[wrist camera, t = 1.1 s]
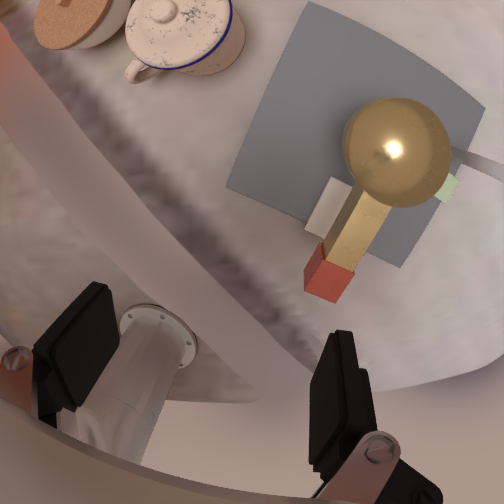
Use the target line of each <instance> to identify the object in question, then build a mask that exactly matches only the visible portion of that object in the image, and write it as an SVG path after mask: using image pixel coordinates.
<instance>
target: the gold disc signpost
mask: <svg viewBox="0 0 504 504" xmlns="http://www.w3.org/2000/svg"><path fill="white" fill-rule="evenodd" d="M342 154H343V158H344V161H345V164H346V166H347V168H348V170H349V172H350V173H351V175H352V176H353V177H354V178H355V180H356V182H355V184H354V186H353V188H352V189H351V191H350V193H349V195H348V197H347V199H346V201H345V203H344V204H343V206H342V208H341V210H340V212H339V214H338V216H337V217H336V219H335V221H334V223H333V225H332V226H331V228H330V230H329V232H328V234H327V235H326V237H325V239H324V241H323V243H322V242H320V243H319V244H318V246H317V248H316V250H315V251H314V253H313V255H312V257H311V258H310V260H309V262H308V264H307V265H306V267H305V269H304V291H306V292H308V293H311V294H313V295H315V296H318V297H320V298H323V299H325V300H328V301H330V302H332V303H336V302H337V300H338V299H339V297H340V296H341V294H342V293H343V291H344V290H345V288H346V287H347V285H348V284H349V282H350V281H351V279H352V278H353V276H354V275H355V273H354V269H355V268H356V266H357V265H358V263H359V261H360V260H361V258H362V257H363V255H364V253H365V252H366V250H367V249H368V247H369V245H370V244H371V242H372V240H373V239H374V237H375V235H376V234H377V232H378V230H379V229H380V227H381V225H382V224H383V222H384V220H385V218H386V217H387V215H388V213H389V211H390V210H391V208H392V207H396V208H408V207H413V206H417V205H419V204H422V203H424V202H426V201H427V200H429V199H430V198H431V197H433V196H434V195H435V194H436V193H437V192H438V191H439V189H440V188H441V187H442V185H443V184H444V182H445V180H446V178H447V176H448V173H449V169H450V164H451V145H450V140H449V137H448V134H447V131H446V129H445V127H444V125H443V123H442V122H441V120H440V119H439V118H438V116H437V115H436V114H435V113H434V112H433V111H432V110H430V109H429V108H428V107H427V106H425V105H423V104H422V103H420V102H417V101H415V100H411V99H408V98H387V99H378V100H373V101H370V102H367V103H365V104H364V105H362V106H360V107H359V108H358V109H357V110H356V111H355V112H354V113H353V114H352V115H351V116H350V118H349V119H348V121H347V123H346V125H345V128H344V131H343V135H342Z"/></svg>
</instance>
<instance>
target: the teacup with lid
mask: <svg viewBox="0 0 504 504" xmlns="http://www.w3.org/2000/svg"><path fill="white" fill-rule="evenodd" d="M125 34H126V40H127V43H128V46H129V48H130V50H131V51H132V53H133V54H134V55H135V57H136V58H135V59H134V60H133V61H132V62H131V63H130V64H129V65H128V67H127V68H126V71H125V78H126V80H127V81H128V82H129V83H131V84H138V83H142V82H144V81H147V80H149V79H151V78H153V77H154V76H156V75H157V74H158V73H160V72H161V71H162V70H175V71H179V72H183V73H186V74H190V75H195V76H205V75H211V74H215V73H217V72H220V71H222V70H224V69H225V68H227V67H228V66H230V65H231V64H232V63H233V62H234V61H235V60H236V59H237V58H238V56H239V55H240V53H241V51H242V49H243V46H244V43H245V28H244V25H243V22H242V20H241V19H240V17H239V15H238V14H237V12H236V11H235V9H234V8H233V6H232V3H231V0H136V1H135V2H134V4H133V5H132V7H131V9H130V11H129V14H128V17H127V20H126V26H125ZM145 65H147V66H150V67H148V68H146V69H145V70H142V71H140V70H141V69H142V68H143V67H144V66H145ZM139 71H140V72H139Z"/></svg>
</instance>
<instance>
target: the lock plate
mask: <svg viewBox="0 0 504 504" xmlns="http://www.w3.org/2000/svg"><path fill="white" fill-rule="evenodd" d="M387 98H408V99H411V100H415V101H417V102H420V103H422V104H423V105H425V106H427V107H428V108H429V109H430V110H432V111H433V112H434V113H435V114H436V115H437V116H438V118H439V119H440V120H441V122H442V123H443V125H444V127H445V129H446V131H447V134H448V137H449V140H450V145H451V164H450V169H449V173H448V176H447V178H446V180H445V182H444V184H443V185H442V187H441V188H440V189H439V191H438V192H437V193H436V194H435V195H434V196H433V197H431V198H430V199H429V200H427V201H426V202H424V203H422V204H419V205H417V206H413V207H408V208H396V207H392V208H391V210H390V211H389V213H388V215H387V217H386V218H385V220H384V222H383V224H382V225H381V227H380V229H379V230H378V232H377V234H376V235H375V237H374V239H373V240H372V242H371V244H370V245H369V247H368V249H367V250H366V252H369V253H371V254H373V255H375V256H377V257H379V258H381V259H383V260H385V261H387V262H389V263H391V264H392V265H394V266H396V267H398V268H401V266H402V265H403V263H404V262H405V260H406V259H407V257H408V255H409V254H410V252H411V251H412V249H413V248H414V246H415V244H416V243H417V241H418V240H419V238H420V236H421V235H422V233H423V232H424V230H425V228H426V227H427V225H428V223H429V221H430V220H431V218H432V216H433V215H434V213H435V211H436V209H437V208H438V206H439V204H440V202H441V201H442V202H444V203H445V204H447V203H448V201H449V199H450V198H451V196H452V194H453V192H454V190H455V188H456V186H457V184H458V183H459V181H460V180H458V179H457V178H456V177H454V176H455V174H456V172H457V170H458V168H459V166H460V164H461V163H462V164H465V165H467V166H469V167H472V168H474V169H476V170H478V171H480V172H483V173H485V174H487V175H489V176H491V177H493V178H495V179H497V180H499V181H501V182H503V183H504V165H503V164H500V163H498V162H495V161H493V160H490V159H488V158H485V157H482V156H480V155H477V154H474V153H471V152H468V151H467V150H468V147H469V145H470V143H471V141H472V139H473V137H474V134H475V132H476V130H477V127H478V125H479V123H480V120H481V118H482V115H483V113H484V110H485V107H483V106H482V105H481V104H480V103H479V102H478V101H477V100H475V99H474V98H473V97H472V96H471V95H470V94H468V93H467V92H466V91H465V90H463V89H462V88H461V87H460V86H458V85H457V84H456V83H455V82H453V81H452V80H451V79H449V78H448V77H447V76H445V75H444V74H443V73H441V72H440V71H438V70H437V69H436V68H434V67H433V66H431V65H430V64H428V63H427V62H426V61H424V60H423V59H421V58H420V57H418V56H416V55H415V54H413V53H412V52H410V51H409V50H407V49H405V48H404V47H402V46H400V45H399V44H397V43H395V42H394V41H392V40H390V39H388V38H387V37H385V36H383V35H381V34H379V33H378V32H376V31H374V30H372V29H370V28H368V27H366V26H364V25H362V24H360V23H358V22H356V21H354V20H352V19H350V18H348V17H346V16H343V15H341V14H339V13H337V12H334V11H332V10H330V9H327V8H325V7H323V6H320V5H318V4H315V3H312V2H310V1H308V3H307V5H306V7H305V9H304V11H303V13H302V15H301V17H300V19H299V21H298V23H297V25H296V27H295V29H294V31H293V33H292V35H291V37H290V39H289V42H288V44H287V46H286V48H285V50H284V52H283V54H282V56H281V58H280V61H279V63H278V65H277V67H276V69H275V72H274V74H273V76H272V78H271V80H270V83H269V85H268V87H267V89H266V91H265V94H264V96H263V98H262V100H261V103H260V105H259V107H258V110H257V112H256V114H255V117H254V119H253V121H252V124H251V126H250V128H249V131H248V133H247V135H246V138H245V140H244V142H243V145H242V147H241V150H240V152H239V155H238V157H237V159H236V162H235V164H234V167H233V169H232V172H231V174H230V177H229V179H228V182H227V184H226V188H228V189H231V190H233V191H235V192H238V193H240V194H242V195H245V196H247V197H249V198H252V199H254V200H256V201H259V202H261V203H263V204H266V205H268V206H270V207H272V208H275V209H277V210H279V211H281V212H284V213H286V214H288V215H290V216H292V217H295V218H297V219H299V220H301V221H303V222H306V223H307V224H306V226H305V228H304V230H306V231H308V232H310V233H312V234H315V235H317V236H319V237H321V238H323V239H325V237H326V235H327V234H328V232H329V230H330V228H331V226H332V225H333V223H334V221H335V219H336V217H337V216H338V214H339V212H340V210H341V208H342V206H343V204H344V203H345V201H346V199H347V197H348V195H349V193H350V191H351V189H352V188H353V186H354V184H355V182H356V180H355V178H354V177H353V176H352V175H351V173H350V172H349V170H348V168H347V166H346V164H345V161H344V158H343V154H342V135H343V131H344V128H345V125H346V123H347V121H348V119H349V118H350V116H351V115H352V114H353V113H354V112H355V111H356V110H357V109H358V108H359V107H360V106H362V105H364V104H365V103H367V102H370V101H373V100H378V99H387Z"/></svg>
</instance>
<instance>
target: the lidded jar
mask: <svg viewBox="0 0 504 504" xmlns="http://www.w3.org/2000/svg"><path fill="white" fill-rule="evenodd" d="M130 6H131V0H41V1H40V3H39V5H38V8H37V11H36V15H35V22H34V29H35V35H36V37H37V40H38V41H39V43H40V44H41V45H42V46H43V47H45V48H47V49H51V50H81V49H86V48H91V47H93V46H96V45H98V44H100V43H102V42H104V41H106V40H107V39H109V38H110V37H111V36H112V35H114V34H115V33H116V32H117V31H118V30H119V29H120V27H121V26H122V25H123V23H124V22H125V20H126V18H127V16H128V14H129V11H130Z"/></svg>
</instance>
